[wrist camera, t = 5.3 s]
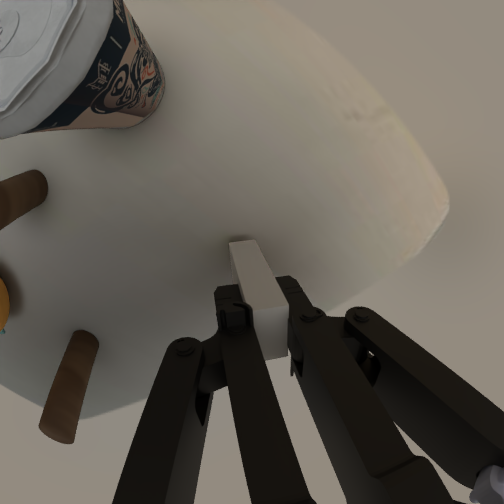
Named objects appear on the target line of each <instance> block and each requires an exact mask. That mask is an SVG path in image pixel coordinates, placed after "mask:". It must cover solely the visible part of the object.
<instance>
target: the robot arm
mask: <svg viewBox="0 0 504 504" xmlns="http://www.w3.org/2000/svg"><path fill="white" fill-rule="evenodd" d="M229 251H230V261H231V271H232V280H233V285H226V286H218V287H217V288H216V290H215V292H214V297H215V305H216V316H217V322H218V330H217V332H216V334H215V335H214V336H212V337H211V338H209V339H207V340H205V341H202V342H200V341H199V340H197V339H195V338H191V337H184V338H180V339H177V340H175V341H173V342H172V343H170V345H169V346H168V348H167V350H166V353H165V355H164V358H163V360H162V363H161V365H160V368H159V371H158V373H157V376H156V378H155V381H154V384H153V386H152V389H151V391H150V394H149V397H148V399H147V402H146V405H145V408H144V410H143V413H142V416H141V419H140V422H139V424H138V427H137V430H136V433H135V436H134V438H133V441H132V444H131V447H130V450H129V453H128V456H127V459H126V462H125V465H124V468H123V471H122V474H121V477H120V480H119V483H118V486H117V489H116V492H115V496H114V499H113V502H112V504H194V499H195V493H196V487H197V482H198V476H199V470H200V465H201V459H202V454H203V448H204V443H205V437H206V432H207V426H208V421H209V416H210V410H211V404H212V400H213V394H214V393H213V392H214V391H216V390H218V389H221V388H223V387H225V386H228V390H229V396H230V401H231V407H232V412H233V417H234V423H235V428H236V433H237V438H238V443H239V448H240V453H241V458H242V462H243V467H244V472H245V477H246V481H247V485H248V489H249V494H250V498H251V503H252V504H317V503H316V502H315V501H314V500H313V499H312V497H311V496H310V494H309V491H308V488H307V486H306V483H305V480H304V477H303V474H302V471H301V468H300V465H299V463H298V460H297V457H296V454H295V451H294V448H293V445H292V443H291V439H290V436H289V433H288V431H287V428H286V424H285V421H284V418H283V416H282V412H281V409H280V406H279V403H278V400H277V397H276V394H275V391H274V388H273V385H272V382H271V379H270V376H269V372H268V369H267V366H266V364H265V360H270V359H276V358H281V357H286V356H288V348H289V351H290V353H291V370H290V373H291V376H293V373H294V372H295V375H296V378H297V380H298V382H299V385H300V387H301V390H302V392H303V395H304V397H305V400H306V402H307V405H308V407H309V410H310V412H311V414H312V417H313V419H314V422H315V424H316V427H317V429H318V432H319V434H320V437H321V439H322V441H323V444H324V446H325V449H326V451H327V453H328V456H329V458H330V461H331V463H332V466H333V468H334V471H335V473H336V475H337V478H338V480H339V483H340V485H341V488H342V490H343V492H344V495H345V497H346V501H347V504H466V503H462V502H458V501H455V500H453V499H452V498H451V496H450V494H449V492H448V490H447V489H446V487H445V485H444V484H443V482H442V480H441V478H440V477H439V475H438V473H437V472H436V470H435V468H434V467H433V465H432V464H431V463H430V461H429V460H428V459H427V458H425V457H423V456H416V455H414V454H413V453H412V452H411V451H410V449H409V447H408V445H407V444H406V442H405V440H404V439H403V437H402V435H401V434H400V432H399V430H398V429H397V427H396V425H395V424H394V422H395V423H396V424H397V425H398V426H399V427H400V428H401V429H402V430H403V431H404V432H405V433H406V434H407V435H408V436H409V437H410V438H411V439H412V440H413V441H414V442H415V443H416V444H417V445H418V446H419V447H420V448H421V449H422V450H423V451H424V452H425V453H426V454H427V455H428V456H429V457H430V458H431V459H433V460H434V461H435V462H436V463H437V464H438V465H439V466H440V467H441V468H442V469H443V470H444V471H445V472H446V473H447V474H448V475H449V476H451V477H452V478H453V479H454V480H456V481H457V482H459V483H460V484H462V485H464V486H466V487H468V488H471V489H473V491H472V492H471V493H470V496H469V498H470V501H471V502H473V503H478V502H479V503H480V504H504V412H503V411H502V410H501V409H500V408H498V407H497V406H496V405H495V404H493V403H492V402H491V401H490V400H489V399H487V398H486V397H484V395H482V394H481V393H480V392H479V391H477V390H476V389H475V388H474V387H472V386H471V385H470V384H469V383H467V382H466V381H465V380H463V379H462V378H461V377H460V376H458V375H457V374H456V373H455V372H453V371H452V370H451V369H449V368H448V367H447V366H446V365H444V364H443V363H442V362H440V361H439V360H438V359H437V358H435V357H434V356H433V355H431V354H430V353H429V352H427V351H426V350H425V349H424V348H422V347H421V346H420V345H418V344H417V343H416V342H414V341H413V340H412V339H410V338H409V337H408V336H406V335H405V334H404V333H402V332H401V331H400V330H398V329H397V328H396V327H394V326H393V325H392V324H390V323H389V322H388V321H386V320H385V319H383V318H382V317H381V316H380V315H378V314H377V313H376V312H374V311H373V310H371V309H369V308H366V307H353V308H351V309H349V310H348V311H347V312H346V314H345V317H330V316H326V314H325V313H324V312H323V311H322V310H321V309H319V308H317V307H313V305H312V304H311V302H310V301H309V299H308V297H307V296H306V294H305V293H304V292H303V290H302V288H301V287H300V285H299V283H298V282H297V280H296V279H294V278H292V277H291V276H283V277H276V278H275V277H274V275H273V273H272V271H271V269H270V267H269V265H268V263H267V262H266V260H265V258H264V256H263V254H262V252H261V250H260V248H259V246H258V244H257V242H256V240H255V239H254V240H246V241H238V242H230V243H229ZM369 351H370V352H371V353H372V354H374V356H373V355H371V354H370V353H369ZM393 421H394V422H393Z"/></svg>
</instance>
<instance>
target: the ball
mask: <svg viewBox="0 0 504 504" xmlns="http://www.w3.org/2000/svg"><path fill="white" fill-rule="evenodd" d="M9 310H10V303H9V295H8V291H7V289H6V286H5V284H4V282H3V280H2V279H1V278H0V332H1V330H2V329H3V328H4V326H5V324H6V322H7V319H8V316H9Z"/></svg>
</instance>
